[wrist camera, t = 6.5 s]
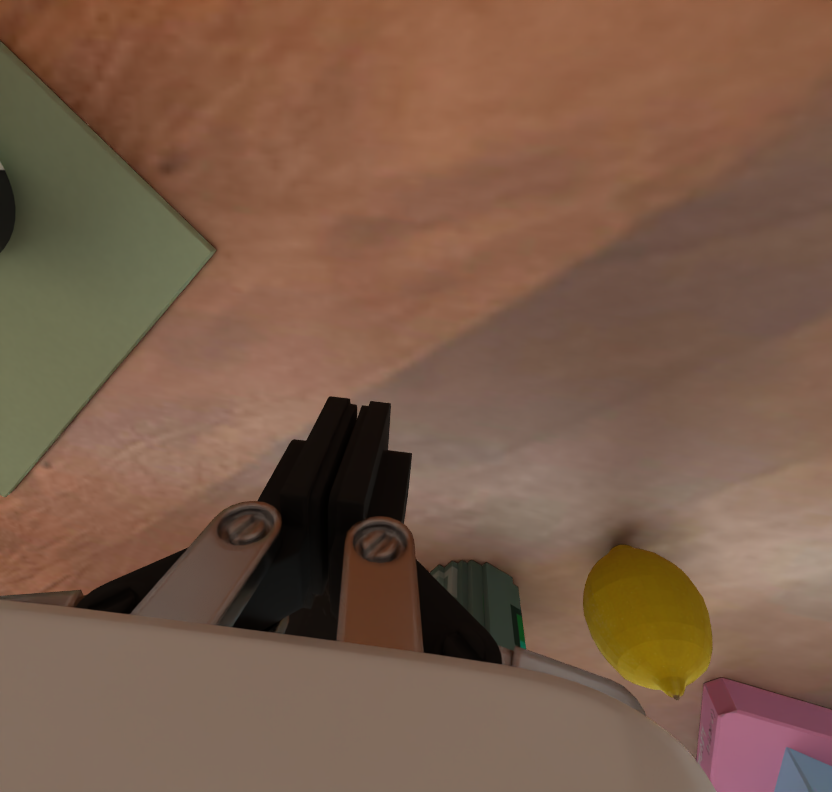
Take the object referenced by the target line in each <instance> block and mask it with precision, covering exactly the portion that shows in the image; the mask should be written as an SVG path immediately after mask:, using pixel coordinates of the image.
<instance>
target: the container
mask: <svg viewBox="0 0 832 792" xmlns="http://www.w3.org/2000/svg"><path fill="white" fill-rule="evenodd" d="M15 212H16V207H15V200H14V194H13V191H12V187H11V184H10V181H9V179H8V176H7V174H6V171H5V169H4V168H3V166H2V164H1V162H0V253H1V252H2V250H3V249H4V248H5V247H6V245H7V243H8V242H9V240H10V238H11V235H12V233H13V230H14V224H15Z"/></svg>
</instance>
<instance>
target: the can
mask: <svg viewBox="0 0 832 792" xmlns="http://www.w3.org/2000/svg"><path fill="white" fill-rule="evenodd" d="M430 574H431V575H432V576H433V577H434V578H435V579H436V580H437V581H438V582H439V583H440V584H441V585H442V586H443V587H444V588H445V589H446V590H447V591H448V592H449V593H450V594H451V595H452V596H453V597H454V598H455V599H456V600H457V601H458V602H459V603H460V604H461V605H462V606H463V607H464V608H465V609H466V610H467V611H468V612H469V613H470V614H471V615H472V616H473V617H474V618H475V619H476V620H477V621H478V622H479V623H480V624H481V625H482V626H483V627H484V628H485V629H486V630H487V631H488V632H489V633H490V634H491V636H492V637H493V638H494V640H495V641H496V642H497V644H498V645H499V646H502V647H504V648H507V649H510V650H514V647H515V646H518V647H521V648H523V649H526V645H525V637H524V629H523V621H522V614H521V606H520V598H519V590H518V587H517V586H516V585H514V584H513V579H512V577H511V576H509V575H507V574H505V573H504V572H502V571H500V570H499V569H497V568H495V567H493V566H492V565H490V564H488V563H487V562H486V563H485V564H484V565H482V566H481V565H480V564H478V563H476V562H474V561H473V560H470V561H469V562H468V563H466V562H464V561H462V560H461V561H460V562H459V563H458V564H457V563H455V562H454V561H451V562H450V563H449V564H448V565H447V566H446V567H445V568H444V567H442V566H440V565H438V566H437V567H436V568H435V569H434V570H433V571H431V572H430Z"/></svg>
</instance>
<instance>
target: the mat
mask: <svg viewBox="0 0 832 792" xmlns="http://www.w3.org/2000/svg"><path fill="white" fill-rule="evenodd" d="M0 162H1V164H2V166H3V168H4V169H5V171H6V174H7V176H8V179H9V181H10V184H11V187H12V191H13V194H14V200H15V207H16V212H15V224H14V230H13V233H12V235H11V238H10V240H9V242H8V243H7V245H6V247H5V248H4V249H3V250H2V252H1V253H0V495H2V496H3V497H6V496H8V495H9V494H10V493H11V492H12V491H13V490H14V489H15V488H16V486H17V485H18V484H19V483H20V482H21V481H22V479H23V478H24V477H25V476H26V475H27V473H28V472H29V471H30V470H31V469H32V468H33V466H34V465H35V464H36V463H37V462H38V461H39V459H40V458H41V457H42V456H43V455H44V453H45V452H46V451H47V450H48V449H49V448H50V446H51V445H52V444H53V443H54V442H55V440H56V439H57V438H58V437H59V436H60V435H61V433H62V432H63V431H64V430H65V429H66V428H67V426H68V425H69V424H70V423H71V422H72V420H73V419H74V418H75V417H76V416H77V415H78V413H79V412H80V411H81V410H82V409H83V407H84V406H85V405H86V404H87V403H88V402H89V400H90V399H91V398H92V397H93V396H94V395H95V393H96V392H97V391H98V390H99V389H100V387H101V386H102V385H103V384H104V383H105V382H106V380H107V379H108V378H109V377H110V376H111V374H112V373H113V372H114V371H115V370H116V369H117V367H118V366H119V365H120V364H121V363H122V361H123V360H124V359H125V358H126V357H127V356H128V354H129V353H130V352H131V351H132V350H133V349H134V347H135V346H136V345H137V344H138V343H139V341H140V340H141V339H142V338H143V337H144V336H145V334H146V333H147V332H148V331H149V330H150V328H151V327H152V326H153V325H154V324H155V323H156V321H157V320H158V319H159V318H160V317H161V316H162V314H163V313H164V312H165V311H166V310H167V308H168V307H169V306H170V305H171V304H172V303H173V301H174V300H175V299H176V298H177V297H178V295H179V294H180V293H181V292H182V291H183V290H184V288H185V287H186V286H187V285H188V284H189V283H190V281H191V280H192V279H193V278H194V277H195V275H196V274H197V273H198V272H199V271H200V270H201V268H202V267H203V266H204V265H205V264H206V262H207V261H208V260H209V259H210V258H211V257H212V255H213V254H214V253H215V252H216V249H215V248H214V247H213V246H212V245H211V244H210V243H208V242H207V241H206V240H205V239H204V238H203V237H202V236H201V235H200V234H199V233H198V232H197V231H196V230H195V229H194V228H193V227H192V226H191V225H190V224H189V223H188V222H187V221H186V220H185V219H184V218H183V217H182V216H181V215H180V214H179V213H177V212H176V211H175V210H174V209H173V208H172V207H171V206H170V205H169V204H168V203H167V202H166V201H165V200H164V199H163V198H162V197H161V196H160V195H159V194H158V193H157V192H156V191H155V190H154V189H153V188H152V187H151V186H150V185H149V184H148V183H147V182H145V181H144V180H143V179H142V178H141V177H140V176H139V175H138V174H137V173H136V172H135V171H134V170H133V169H132V168H131V167H130V166H129V165H128V164H127V163H126V162H125V161H124V160H123V159H122V158H121V157H120V156H119V155H118V154H117V153H116V152H114V151H113V150H112V149H111V148H110V147H109V146H108V145H107V144H106V143H105V142H104V141H103V140H102V139H101V138H100V137H99V136H98V135H97V134H96V133H95V132H94V131H93V130H92V129H91V128H90V127H89V126H88V125H87V124H86V123H85V122H84V121H82V120H81V119H80V118H79V117H78V116H77V115H76V114H75V113H74V112H73V111H72V110H71V109H70V108H69V107H68V106H67V105H66V104H65V103H64V102H63V101H62V100H61V99H60V98H59V97H58V96H57V95H56V94H55V93H54V92H53V91H52V90H50V89H49V88H48V87H47V86H46V85H45V84H44V83H43V82H42V81H41V80H40V79H39V78H38V77H37V76H36V75H35V74H34V73H33V72H32V71H31V70H30V69H29V68H28V67H27V66H26V65H25V64H24V63H23V62H22V61H21V60H19V59H18V58H17V57H16V56H15V55H14V54H13V53H12V52H11V51H10V50H9V49H8V48H7V47H6V46H5V45H4V44H3V43H2V42H1V41H0Z"/></svg>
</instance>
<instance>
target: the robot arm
mask: <svg viewBox="0 0 832 792" xmlns="http://www.w3.org/2000/svg"><path fill="white" fill-rule="evenodd" d="M390 411H391V404H390V403H383V402H374V401H370V404H369V406H362V407H361V410H360V413H359V415H358V418H357V405H355V404H351V403H350V399H348V398H339V397H329V398H328V399H327V401H326V403H325V405H324V407H323V409H322V411H321V413H320V415H319V417H318V419H317V421H316V423H315V425H314V427H313V429H312V431H311V433H310V435H309V437H308V438H307V440H306V441H303V440H295V439H294V440H292V441H291V442H290V444H289V446H288V447H287V449H286V451H285V453H284V455H283V456H282V458H281V460H280V462H279V463H278V465H277V467H276V469H275V471H274V472H273V474H272V476H271V478H270V479H269V481H268V483H267V485H266V487H265V488H264V490H263V492H262V494H261V496H260V497H259V499H258V501H248V502H241V503H238V504H235V505H232V506H230V507H228V508H226V509H224V510H223V511H221V512H220V513H219V514H218V515H217V516H216V517H215V518H214V519H213V520H212V521H211V522H210V523H209V525H208V526H207V527H206V528H205V529H204V530H203V531H202V533H201V534H200V535H199V536H198V537H197V538H196V539H195V541H194V542H193V543H192V544H191V545H190V546H189V547H188V548H186V549H184V550H182V551H179V552H177V553H175V554H172V555H170V556H168V557H166V558H163V559H161V560H159V561H156V562H154V563H152V564H149V565H147V566H145V567H143V568H140V569H138V570H136V571H133V572H131V573H129V574H126V575H124V576H122V577H120V578H117V579H115V580H113V581H110V582H108V583H106V584H104V585H102V586H100V587H98V588H96V589H95V590H93V591H91V592H90V593H89V594H88V595H84V596H83V593H82V591H81V590H73V591H60V592H47V593H34V594H20V595H7V596H0V792H717V791H716V790H715V788H714V786H713V785H712V783H711V781H710V780H709V778H708V776H707V775H706V773H705V772H704V770H703V769H702V768H701V766H700V765H699V764H698V762H697V761H696V760H695V759H694V757H693V756H692V755H691V754H690V752H689V751H688V750H687V749H686V748H685V747H684V746H683V745H682V744H681V743H680V742H679V741H678V740H677V739H676V738H674V737H673V736H672V735H671V734H670V733H669V732H667V731H666V730H665V729H663V728H662V727H661V726H659V725H658V724H656V723H655V722H654V721H652V720H651V719H649V718H648V717H646V714H645V711H644V710H643V708H642V707H641V705H640V703H639V702H638V700H637V699H636V698H635V697H634V696H633V695H632V694H631V693H630V692H629V691H628V690H627V689H626V688H625V687H623V686H622V685H620V684H618V683H616V682H614V681H612V680H610V679H608V678H605V677H602V676H599V675H596V674H594V673H591V672H588V671H585V670H582V669H579V668H577V667H574V666H571V665H568V664H565V663H563V662H560V661H557V660H554V659H551V658H549V657H546V656H543V655H540V654H537V653H535V652H532V651H529V650H526V649H523V648H521V647H518V646H515V647H514V650H510V649H507V648H504V647H502V646H499V645H498V644H497V642H496V641H495V640H494V638H493V637H492V636H491V634H490V633H489V632H488V631H487V630H486V629H485V628H484V627H483V626H482V625H481V624H480V623H479V622H478V621H477V620H476V619H475V618H474V617H473V616H472V615H471V614H470V613H469V612H468V611H467V610H466V609H465V608H464V607H463V606H462V605H461V604H460V603H459V602H458V601H457V600H456V599H455V598H454V597H453V596H452V595H451V594H450V593H449V592H448V591H447V590H446V589H445V588H444V587H443V586H442V585H441V584H440V583H439V582H438V581H437V580H436V579H435V578H434V577H433V576H432V575H431V574H430V573H429V572H428V571H427V570H426V569H425V568H424V567H423V566H422V565H421V564H420V563H419V562H418V561H417V560H416V556H415V544H414V539H413V535H412V533H411V531H410V530H409V529H408V527H407V526H406V525H404V519H405V512H406V505H407V497H408V489H409V480H410V470H411V460H412V453H406V452H398V451H389V450H388V441H389V426H390ZM328 578H329V596H330V611H331V613H332V614H333V615H334V617H335V618H336V620H337V621H338V628H337V640H336V641H332V640H325V639H317V638H310V637H302V636H294V635H287V634H284V632H285V631H286V628H287V625H288V623H289V615H290V614H292V613H294V612H295V611H297V610H299V609H301V608H308V609H311V607H312V604H313V601H314V598H315V595H323V594H324V591H325V588H326V585H327V581H328Z"/></svg>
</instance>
